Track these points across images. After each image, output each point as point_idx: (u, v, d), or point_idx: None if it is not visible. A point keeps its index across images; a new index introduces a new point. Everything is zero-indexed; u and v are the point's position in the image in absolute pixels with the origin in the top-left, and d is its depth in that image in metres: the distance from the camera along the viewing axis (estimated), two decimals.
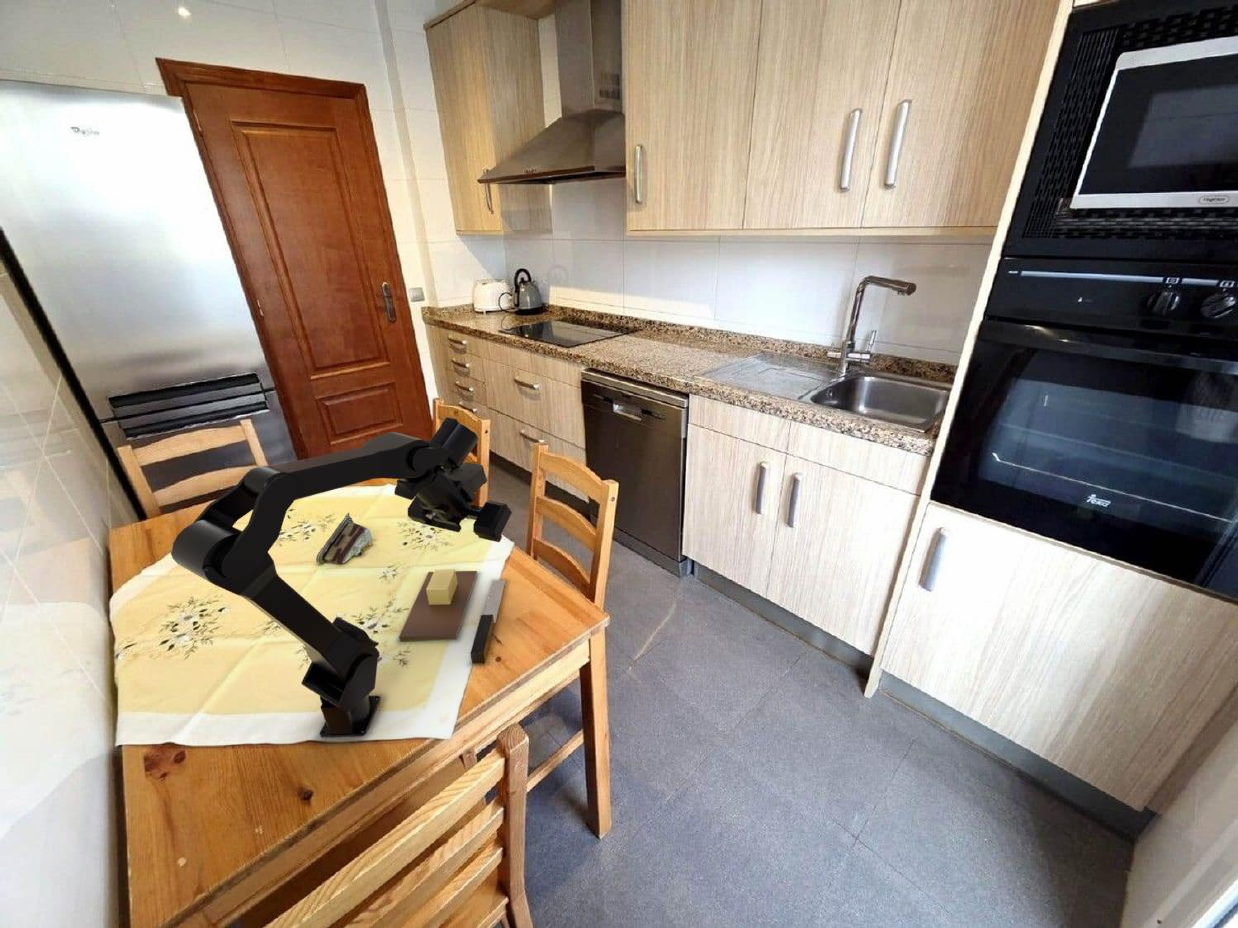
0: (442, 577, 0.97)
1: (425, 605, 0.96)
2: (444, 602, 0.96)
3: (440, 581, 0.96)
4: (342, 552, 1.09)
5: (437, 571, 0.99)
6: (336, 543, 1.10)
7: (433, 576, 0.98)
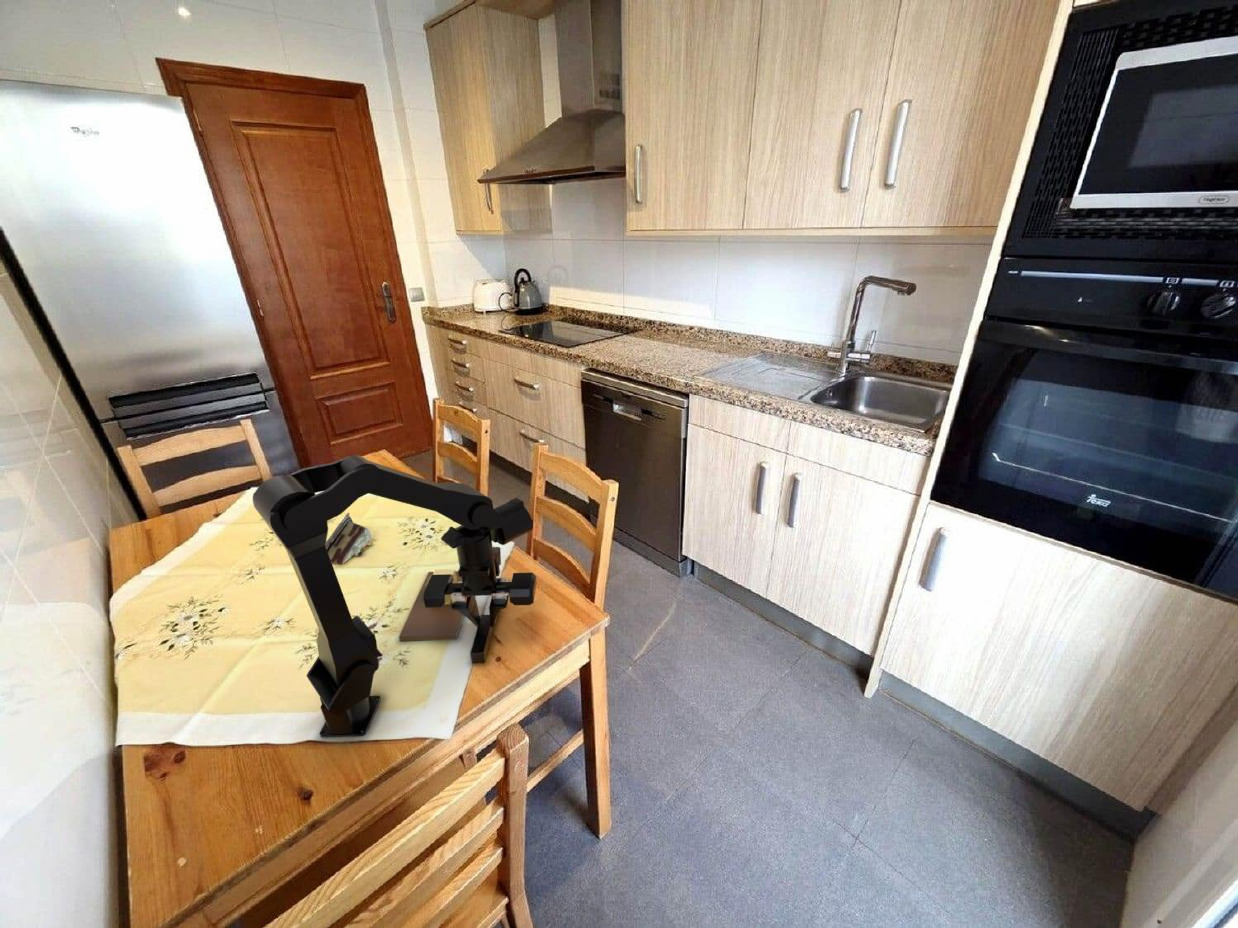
0: None
1: None
2: None
3: None
4: (342, 552, 1.09)
5: (437, 571, 0.99)
6: (336, 543, 1.10)
7: None
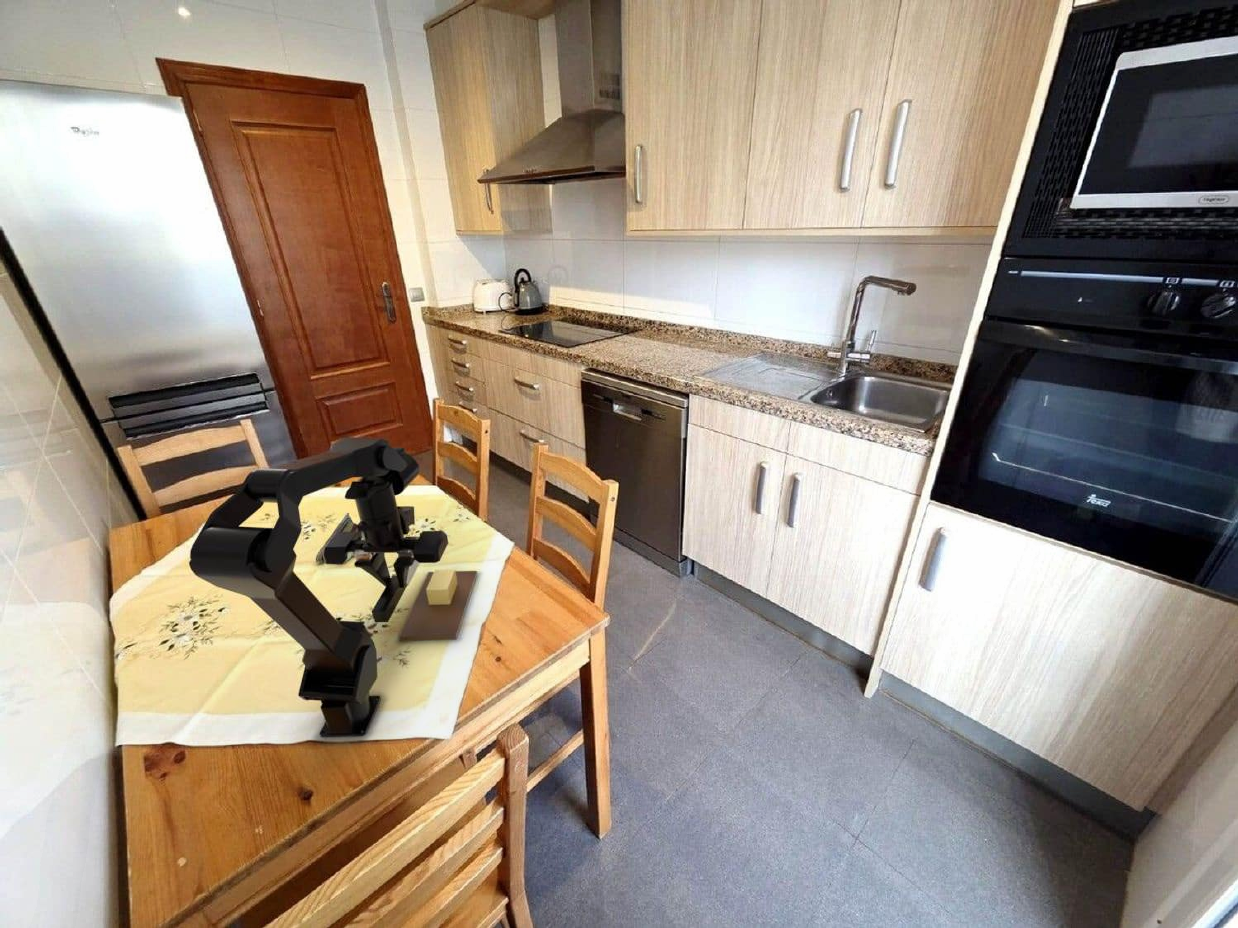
0: (442, 577, 0.97)
1: (425, 605, 0.96)
2: (444, 602, 0.96)
3: (440, 581, 0.96)
4: None
5: (437, 571, 0.99)
6: None
7: (433, 576, 0.98)
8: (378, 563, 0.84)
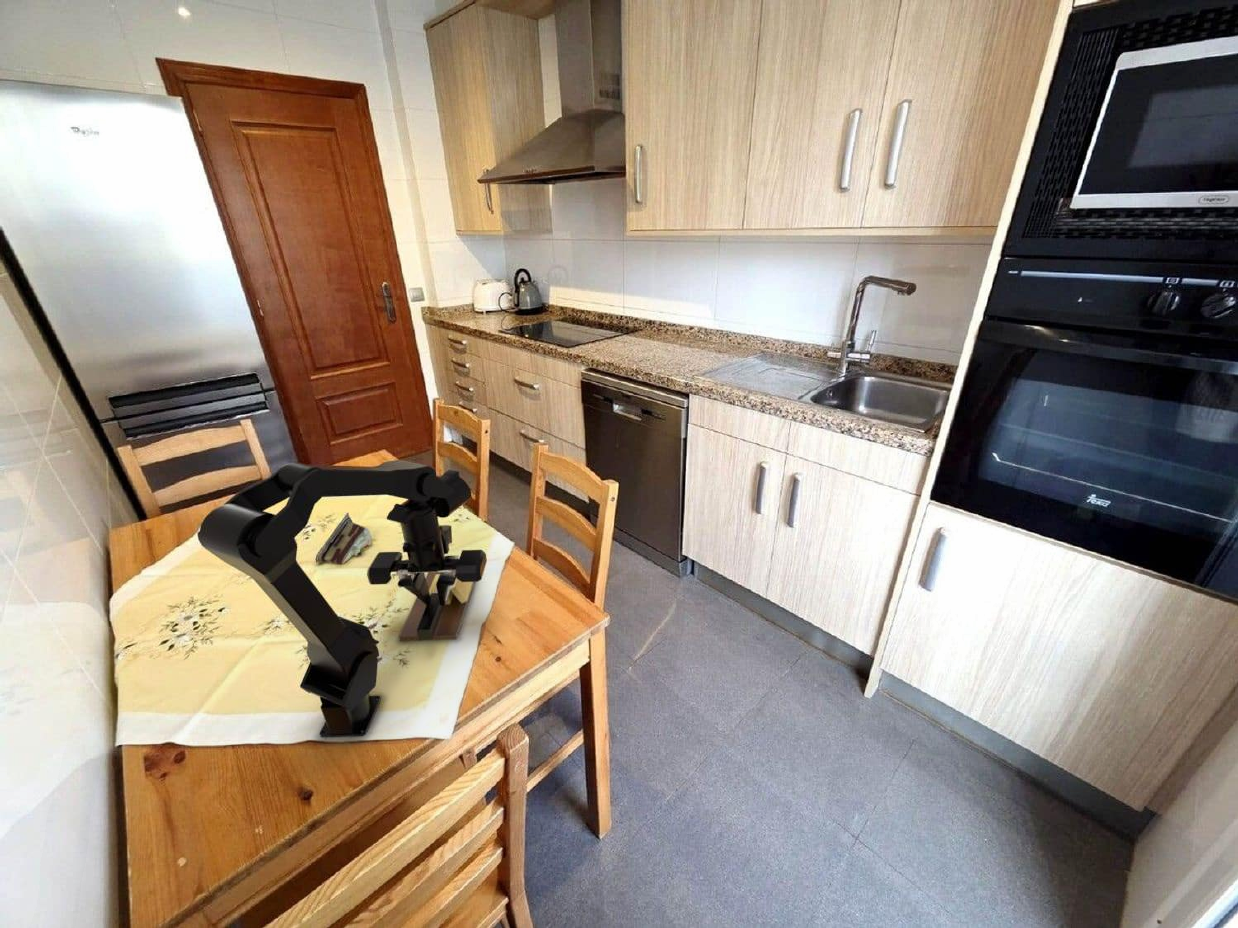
0: (465, 582, 0.98)
1: (425, 605, 0.96)
2: None
3: (463, 586, 0.97)
4: (341, 552, 1.09)
5: None
6: (335, 543, 1.10)
7: None
8: (420, 582, 0.87)
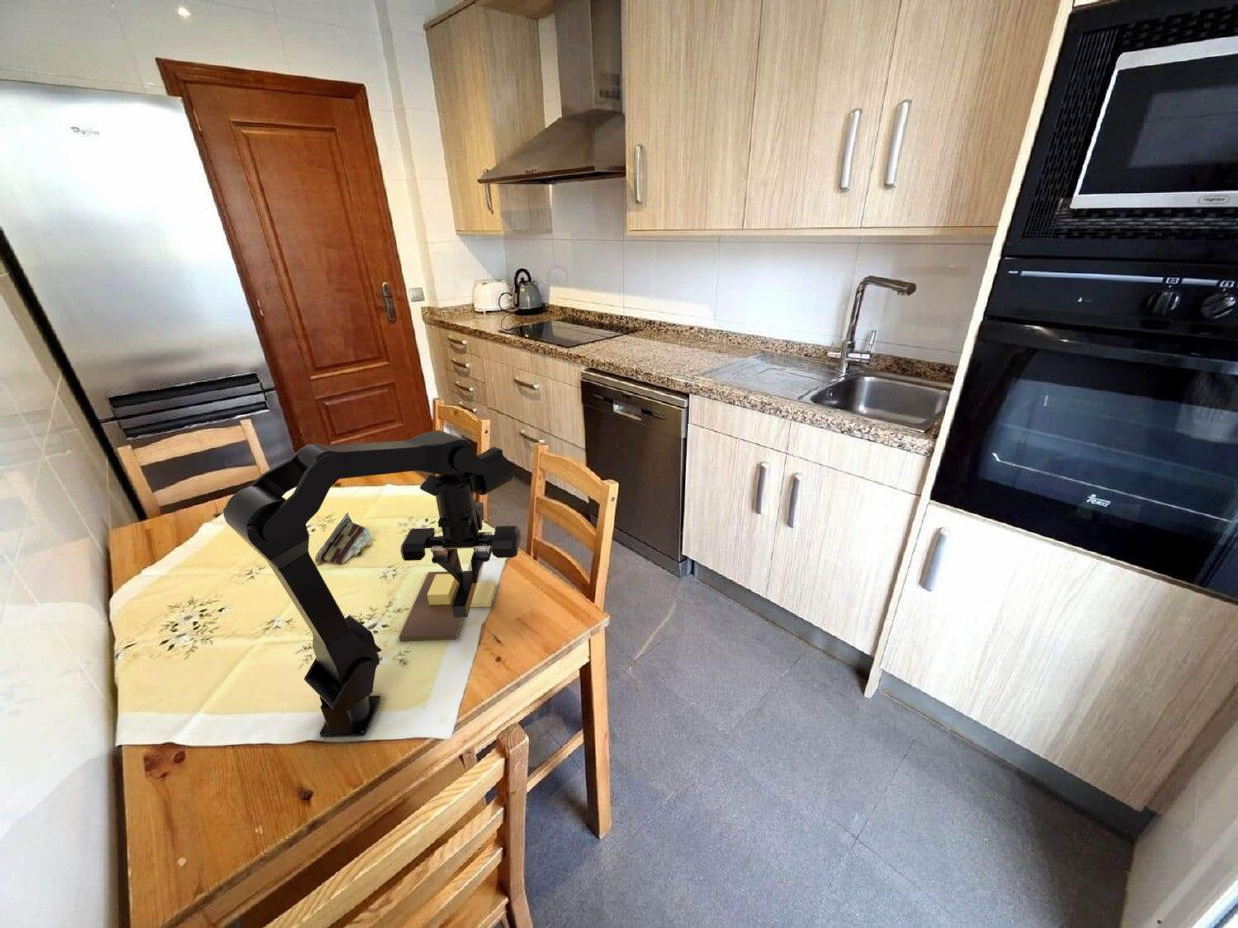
0: None
1: (425, 605, 0.96)
2: (444, 602, 0.96)
3: None
4: (341, 552, 1.09)
5: None
6: (335, 543, 1.10)
7: None
8: (453, 559, 0.85)
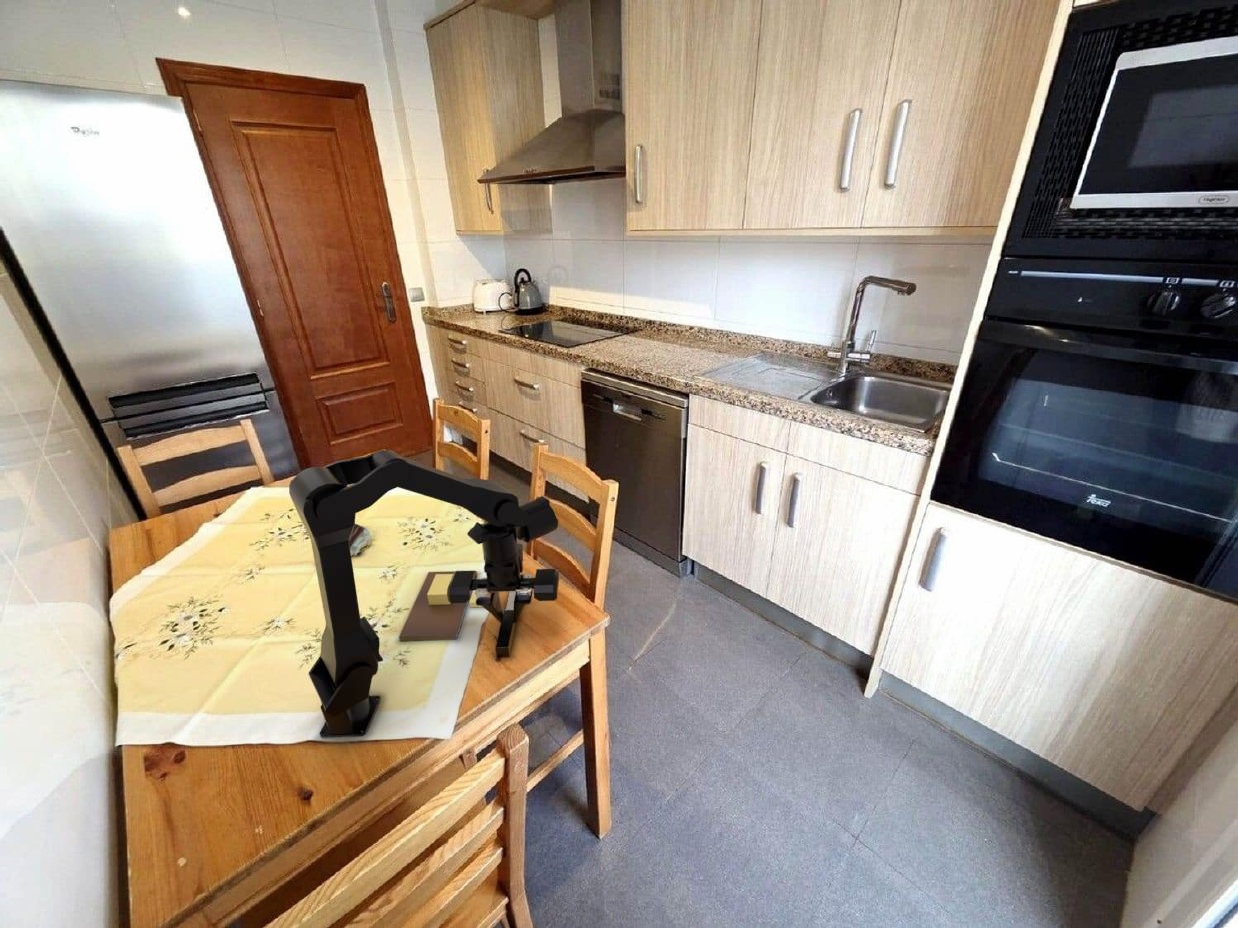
0: None
1: (425, 605, 0.96)
2: (444, 602, 0.96)
3: None
4: None
5: None
6: None
7: None
8: (495, 600, 0.89)
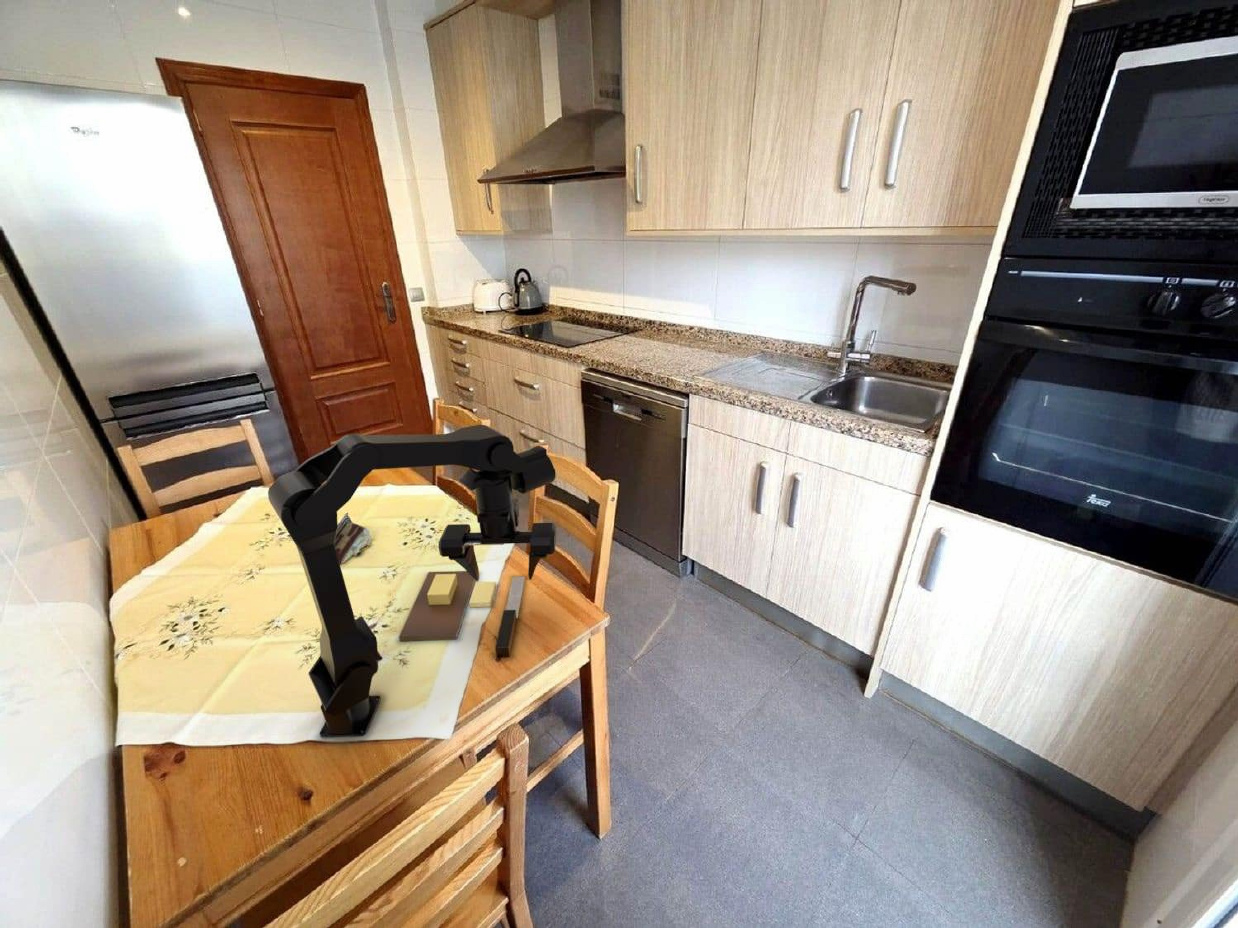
0: None
1: (425, 605, 0.96)
2: (444, 602, 0.96)
3: None
4: (341, 552, 1.09)
5: None
6: None
7: None
8: (470, 556, 0.84)
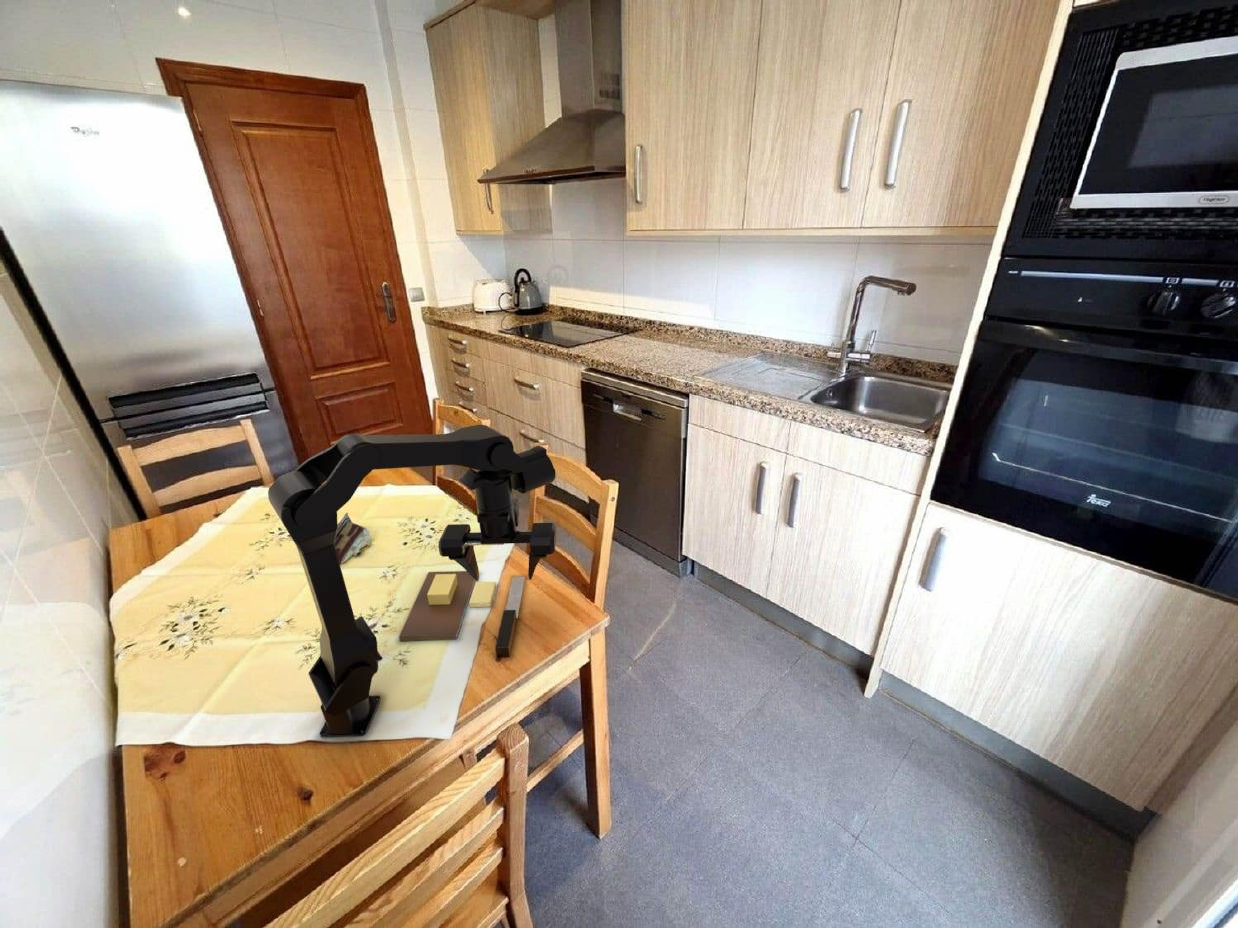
0: None
1: (425, 605, 0.96)
2: (444, 602, 0.96)
3: None
4: (341, 552, 1.09)
5: None
6: None
7: None
8: (470, 556, 0.84)
